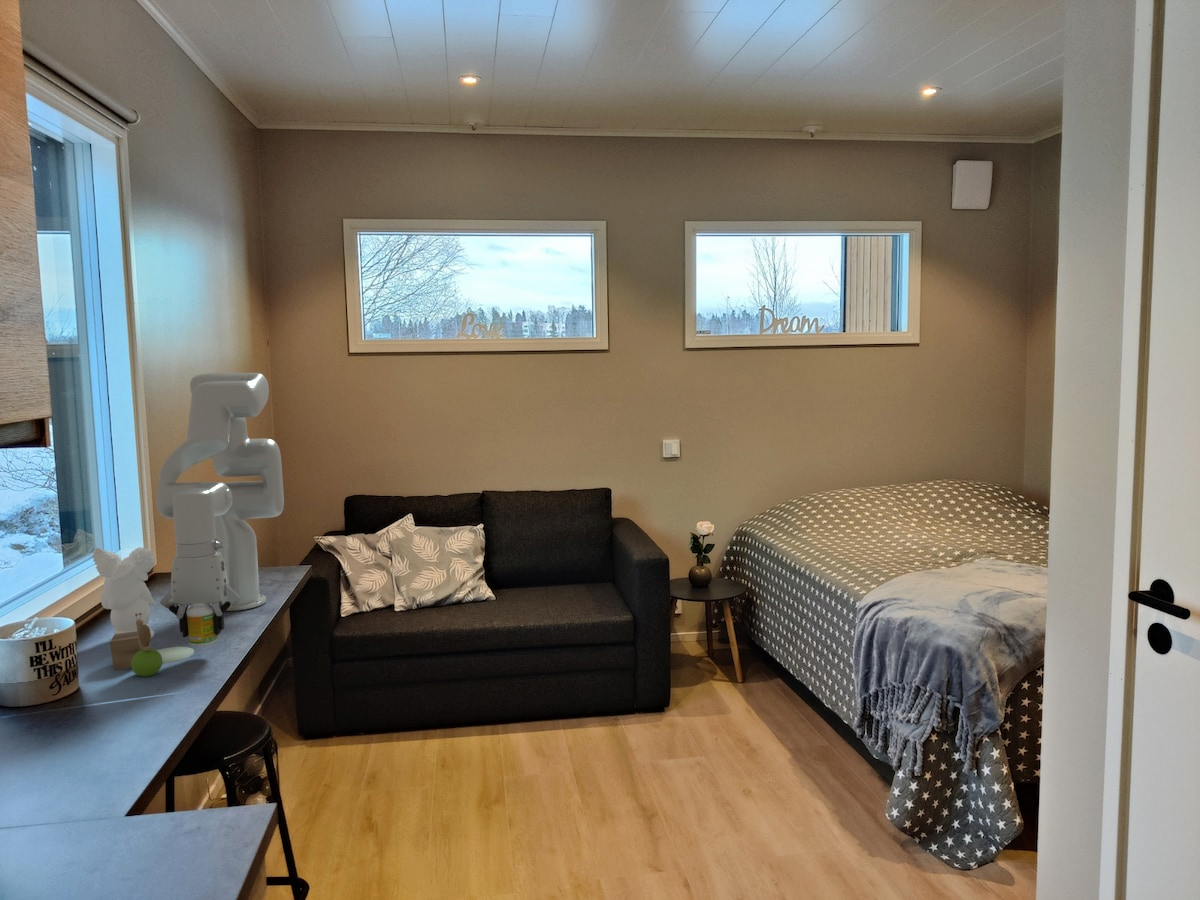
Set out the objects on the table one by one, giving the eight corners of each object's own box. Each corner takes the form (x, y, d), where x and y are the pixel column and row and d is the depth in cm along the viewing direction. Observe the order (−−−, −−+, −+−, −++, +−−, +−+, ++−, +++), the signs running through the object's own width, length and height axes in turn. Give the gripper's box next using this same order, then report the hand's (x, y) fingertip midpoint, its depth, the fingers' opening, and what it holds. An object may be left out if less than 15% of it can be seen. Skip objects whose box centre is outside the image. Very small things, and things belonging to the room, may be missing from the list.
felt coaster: (150, 650, 179) (149, 648, 179) (199, 647, 180) (199, 645, 180) (133, 667, 169) (133, 665, 169) (186, 663, 171) (186, 661, 171)
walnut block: (118, 662, 171) (114, 634, 170) (145, 658, 173) (142, 630, 172) (113, 670, 166) (110, 641, 166) (141, 666, 168) (138, 637, 167)
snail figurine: (156, 667, 168) (152, 609, 167) (167, 675, 164) (163, 616, 163) (126, 674, 165) (122, 615, 163) (136, 683, 160) (132, 622, 159)
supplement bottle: (206, 647, 170) (202, 601, 168) (183, 646, 171) (179, 600, 169) (223, 638, 175) (220, 593, 174) (200, 636, 176) (197, 592, 175)
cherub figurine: (157, 630, 193) (151, 536, 191) (166, 644, 183) (159, 545, 181) (96, 640, 186) (89, 544, 184) (102, 656, 176) (94, 553, 174)
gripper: (245, 542, 175) (250, 625, 178) (157, 546, 172) (163, 630, 175) (236, 551, 168) (242, 637, 171) (144, 555, 165) (152, 643, 167)
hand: (202, 633), depth 173 cm, fingers closed on supplement bottle, 5 cm apart
